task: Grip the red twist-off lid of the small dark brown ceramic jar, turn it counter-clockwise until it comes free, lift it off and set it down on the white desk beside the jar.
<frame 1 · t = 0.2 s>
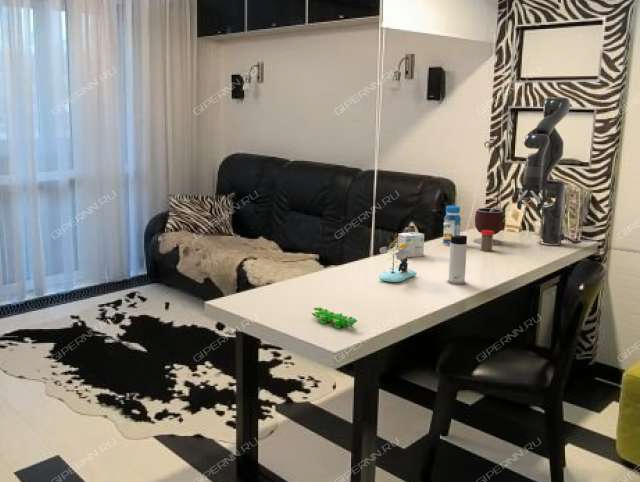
hand: (528, 210, 284), 22 cm above the table, tool pointing down, fingers open, 8 cm apart
penguin figurine: (397, 278, 254), on the table
mate gourd: (488, 242, 319), on the table
light bulb box: (410, 255, 292), on the table
jar: (486, 250, 301), on the table
crocodile figurine: (333, 324, 202), on the table
lid: (487, 231, 300), point 9 cm above the table, screwed on, not yet turned
travel mug: (456, 283, 247), on the table
blue labeled canister: (451, 244, 315), on the table
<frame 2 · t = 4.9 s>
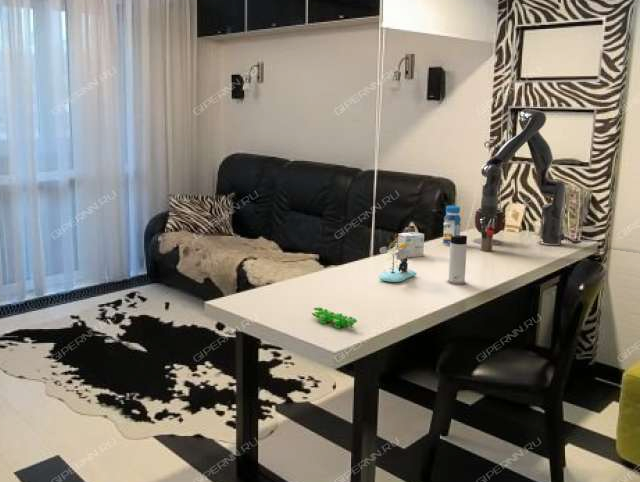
hand: (487, 237, 300), 6 cm above the table, tool pointing down, fingers closed on lid, 5 cm apart
lid: (487, 231, 300), point 9 cm above the table, screwed on, not yet turned, touching gripper
everything else where it was.
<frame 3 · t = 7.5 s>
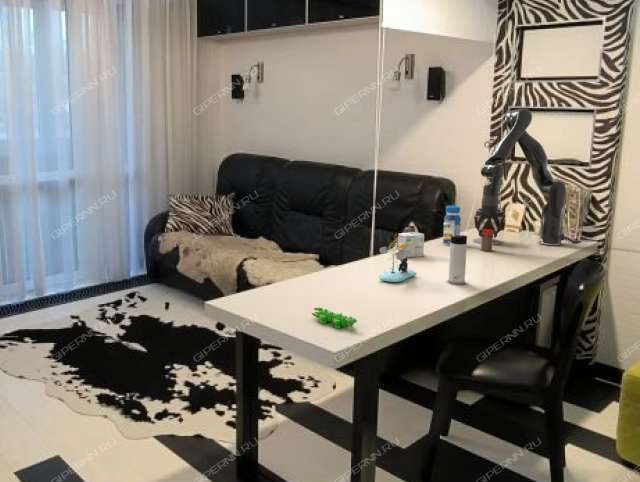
hand: (487, 237, 300), 7 cm above the table, tool pointing down, fingers closed on lid, 5 cm apart
lid: (488, 231, 299), point 10 cm above the table, off its thread, touching gripper
everything else where it was.
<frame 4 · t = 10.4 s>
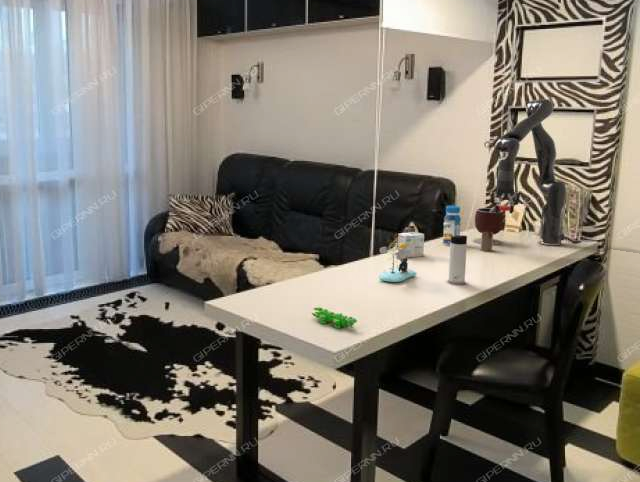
hand: (503, 213, 296), 19 cm above the table, tool pointing down, fingers closed on lid, 5 cm apart
lid: (504, 207, 295), point 22 cm above the table, off its thread, touching gripper
everything else where it was.
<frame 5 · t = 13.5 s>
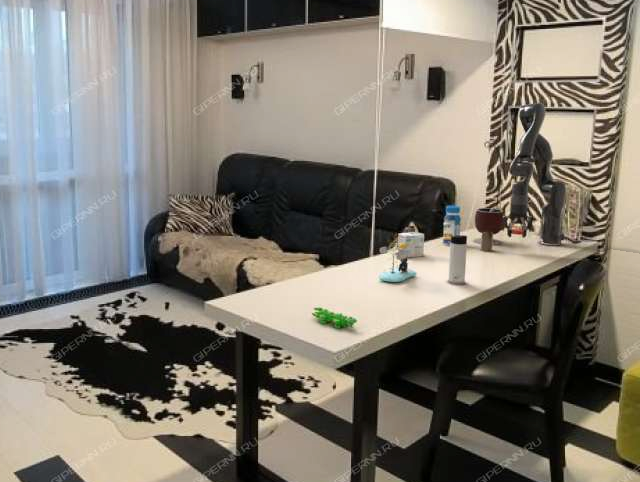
hand: (516, 236, 295), 8 cm above the table, tool pointing down, fingers closed on lid, 5 cm apart
lid: (517, 230, 294), point 11 cm above the table, off its thread, touching gripper
everything else where it was.
when the fingers open (0 cm above the table, at t = 16.2 s): lid drops 2 cm, point 1 cm above the table.
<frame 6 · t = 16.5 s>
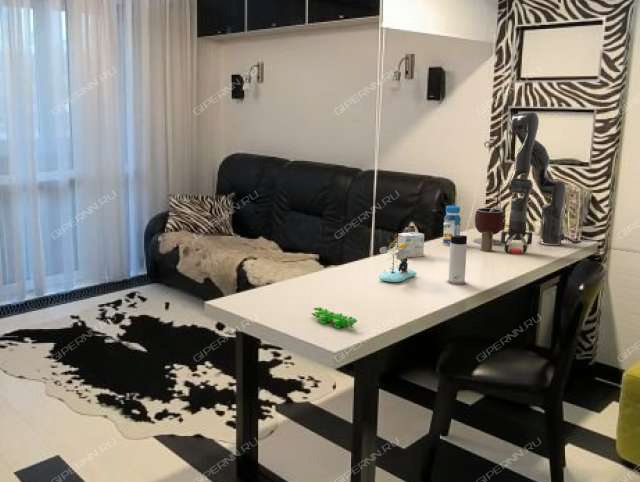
hand: (515, 252, 296), 0 cm above the table, tool pointing down, fingers open, 7 cm apart
lid: (515, 250, 296), point 1 cm above the table, off its thread
everything else where it was.
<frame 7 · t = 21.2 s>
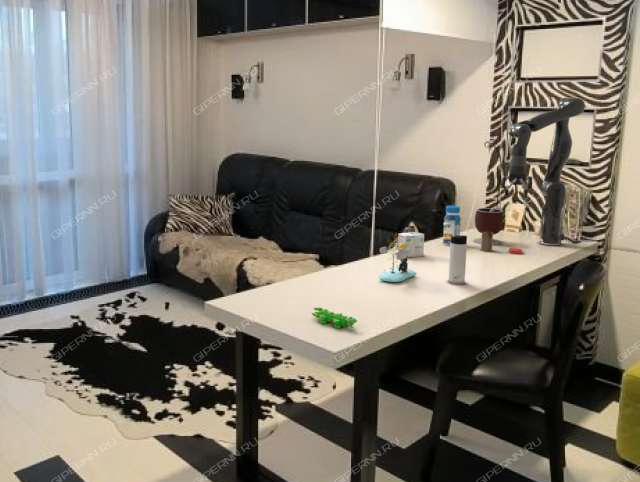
hand: (515, 196, 302), 26 cm above the table, tool pointing down, fingers open, 8 cm apart
nothing on the table moved.
at the end: lid came off its thread; lid point 1.3 cm above the table; the gripper is holding nothing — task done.
